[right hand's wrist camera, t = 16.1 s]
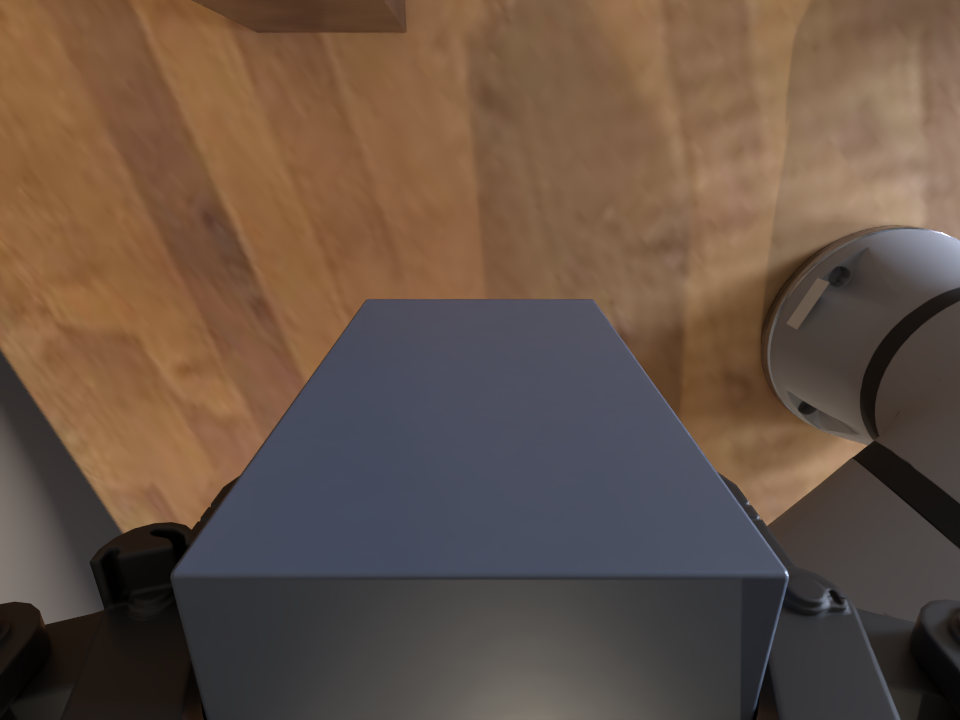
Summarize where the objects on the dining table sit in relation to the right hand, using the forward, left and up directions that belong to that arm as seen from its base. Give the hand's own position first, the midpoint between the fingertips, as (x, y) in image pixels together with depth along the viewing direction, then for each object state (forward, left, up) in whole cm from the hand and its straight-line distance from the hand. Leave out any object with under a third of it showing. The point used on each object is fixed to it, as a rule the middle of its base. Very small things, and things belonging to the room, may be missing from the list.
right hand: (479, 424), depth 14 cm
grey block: (0, 0, -1) cm, 1 cm away
